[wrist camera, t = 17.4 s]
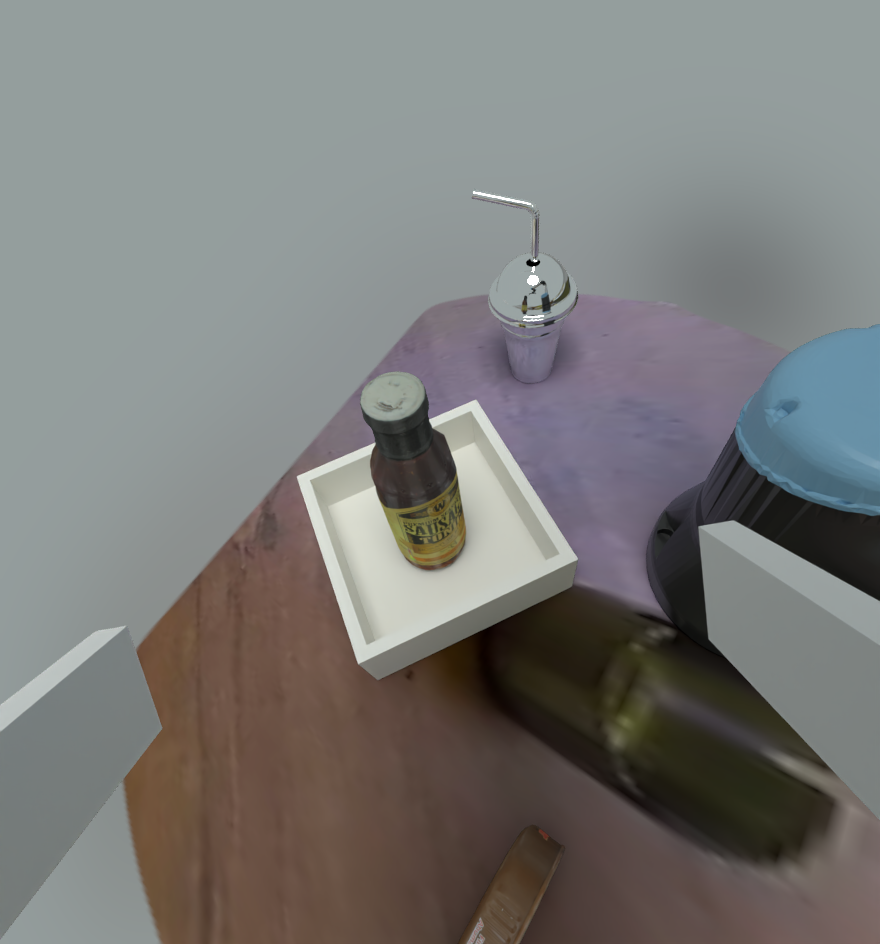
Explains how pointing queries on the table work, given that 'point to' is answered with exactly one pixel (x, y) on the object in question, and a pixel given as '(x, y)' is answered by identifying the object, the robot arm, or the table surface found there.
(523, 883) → the tin
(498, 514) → the box
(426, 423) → the sauce bottle
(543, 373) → the cup with straw
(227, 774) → the table surface
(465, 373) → the table surface
